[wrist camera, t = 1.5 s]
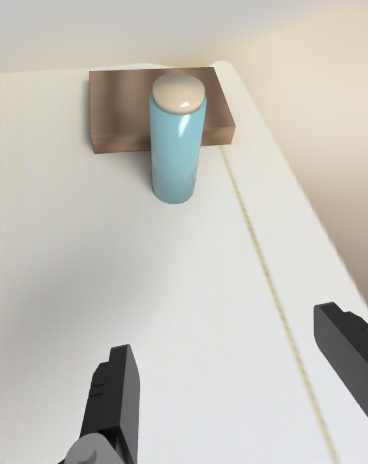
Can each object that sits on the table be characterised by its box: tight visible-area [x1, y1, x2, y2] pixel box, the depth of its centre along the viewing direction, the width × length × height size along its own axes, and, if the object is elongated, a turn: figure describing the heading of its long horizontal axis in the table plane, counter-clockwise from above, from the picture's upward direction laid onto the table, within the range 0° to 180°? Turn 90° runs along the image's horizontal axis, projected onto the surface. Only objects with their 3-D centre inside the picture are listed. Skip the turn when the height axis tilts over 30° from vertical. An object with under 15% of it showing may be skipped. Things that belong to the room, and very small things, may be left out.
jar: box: [149, 73, 207, 204], centre depth 31 cm, size 5×5×13 cm
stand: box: [89, 67, 236, 154], centre depth 42 cm, size 18×13×3 cm
